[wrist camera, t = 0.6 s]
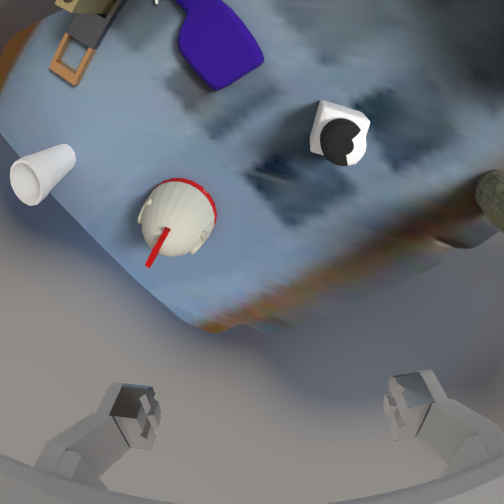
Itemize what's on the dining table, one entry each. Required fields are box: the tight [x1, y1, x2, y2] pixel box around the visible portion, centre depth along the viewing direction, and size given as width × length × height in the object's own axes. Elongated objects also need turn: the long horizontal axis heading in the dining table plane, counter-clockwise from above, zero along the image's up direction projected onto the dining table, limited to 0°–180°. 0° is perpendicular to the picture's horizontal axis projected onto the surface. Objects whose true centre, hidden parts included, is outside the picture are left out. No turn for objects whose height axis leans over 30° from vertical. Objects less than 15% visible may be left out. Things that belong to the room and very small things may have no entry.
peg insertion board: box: [49, 0, 127, 86], centre depth 41 cm, size 22×8×2 cm, turn 141°
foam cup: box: [10, 143, 76, 206], centre depth 53 cm, size 10×9×13 cm
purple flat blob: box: [155, 0, 264, 90], centre depth 40 cm, size 3×11×24 cm
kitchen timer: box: [138, 178, 217, 268], centre depth 56 cm, size 14×14×15 cm
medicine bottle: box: [310, 100, 370, 166], centre depth 43 cm, size 7×7×12 cm
